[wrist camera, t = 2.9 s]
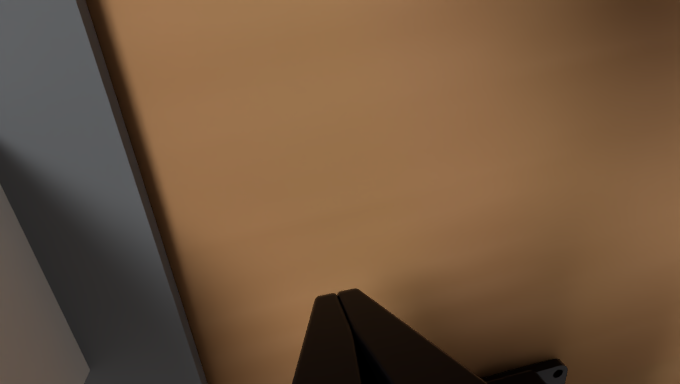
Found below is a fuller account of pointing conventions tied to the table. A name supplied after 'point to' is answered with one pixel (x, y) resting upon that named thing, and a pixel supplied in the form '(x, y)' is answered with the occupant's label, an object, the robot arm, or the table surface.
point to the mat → (86, 198)
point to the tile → (31, 316)
